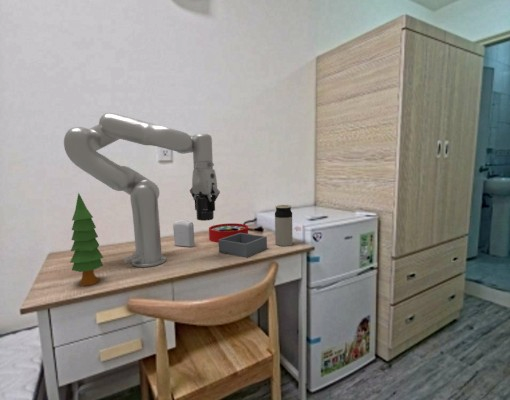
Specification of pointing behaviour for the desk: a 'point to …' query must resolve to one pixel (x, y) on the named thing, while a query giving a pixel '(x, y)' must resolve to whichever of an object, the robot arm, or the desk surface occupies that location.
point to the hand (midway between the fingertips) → (205, 210)
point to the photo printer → (184, 233)
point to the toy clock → (226, 231)
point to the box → (242, 244)
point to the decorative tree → (85, 244)
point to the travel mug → (283, 225)
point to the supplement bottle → (203, 208)
